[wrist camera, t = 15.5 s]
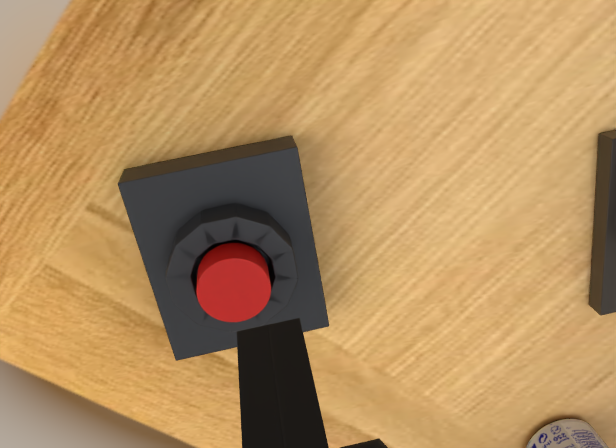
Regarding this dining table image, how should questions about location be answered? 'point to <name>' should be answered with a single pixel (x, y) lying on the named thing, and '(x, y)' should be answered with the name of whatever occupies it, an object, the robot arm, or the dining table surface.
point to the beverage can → (566, 436)
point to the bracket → (604, 228)
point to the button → (233, 282)
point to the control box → (225, 236)
